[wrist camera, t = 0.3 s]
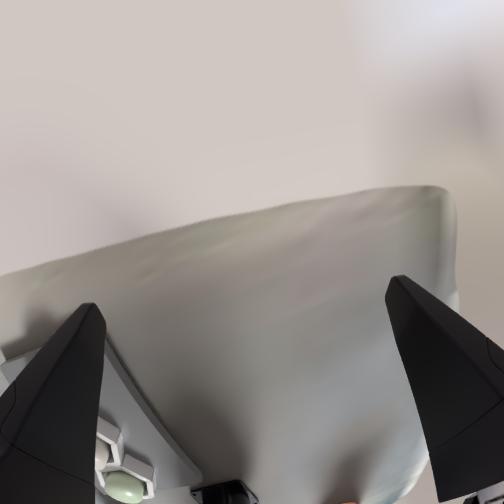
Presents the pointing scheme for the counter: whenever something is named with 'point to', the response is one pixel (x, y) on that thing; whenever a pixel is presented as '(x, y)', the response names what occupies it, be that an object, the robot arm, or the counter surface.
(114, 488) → the sage button
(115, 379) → the button panel
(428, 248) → the counter surface
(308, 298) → the counter surface
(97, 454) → the grey button
